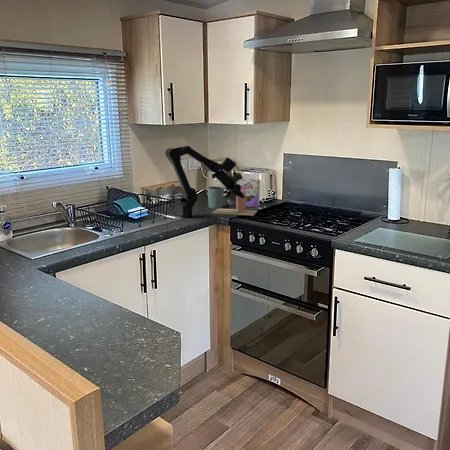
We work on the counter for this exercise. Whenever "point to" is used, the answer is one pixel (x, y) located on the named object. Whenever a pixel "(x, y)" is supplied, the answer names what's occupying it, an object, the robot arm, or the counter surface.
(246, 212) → the board
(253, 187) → the candy box
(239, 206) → the painted block
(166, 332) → the counter surface
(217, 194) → the teal cup
